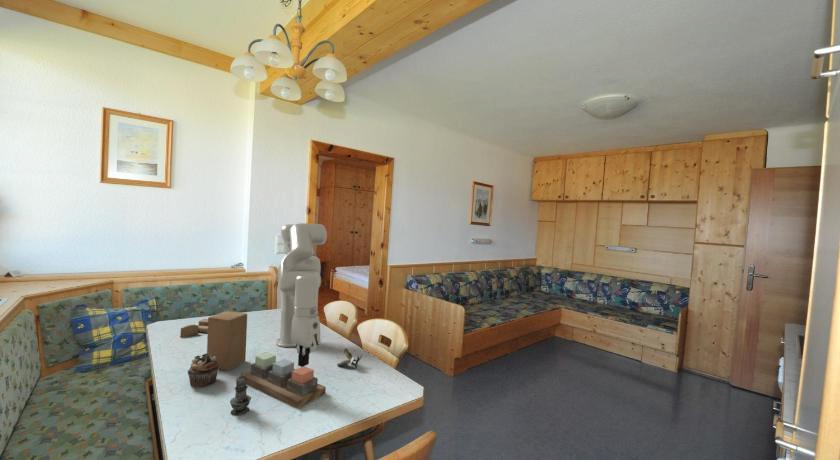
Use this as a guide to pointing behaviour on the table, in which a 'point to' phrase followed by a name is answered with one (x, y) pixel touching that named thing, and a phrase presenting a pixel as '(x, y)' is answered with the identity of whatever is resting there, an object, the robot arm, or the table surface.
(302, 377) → the red key
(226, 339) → the wooden block
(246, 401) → the grey tall stone piece
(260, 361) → the sage key
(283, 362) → the slate key
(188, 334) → the wooden block set
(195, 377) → the cupcake
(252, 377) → the console
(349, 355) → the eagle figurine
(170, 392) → the table surface
